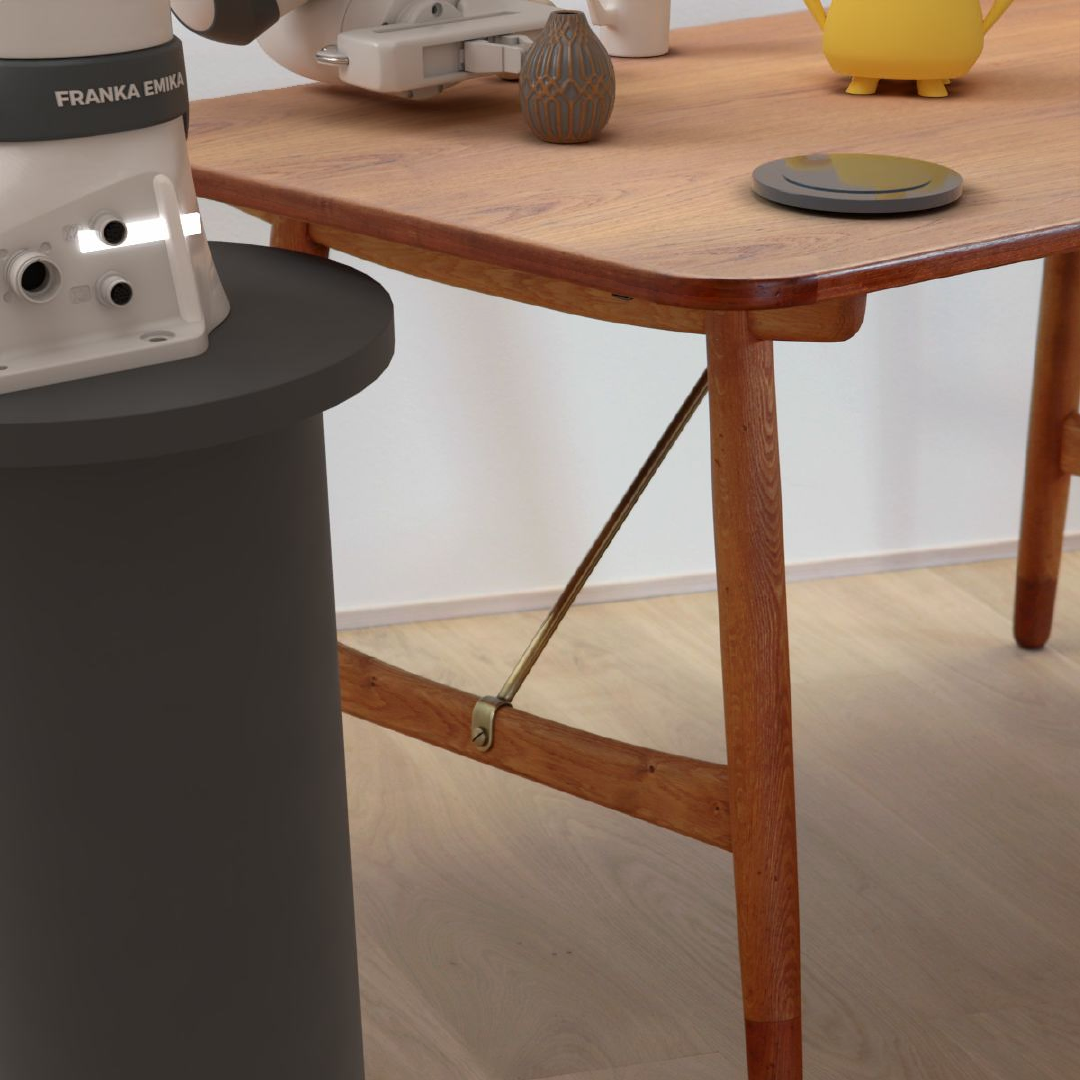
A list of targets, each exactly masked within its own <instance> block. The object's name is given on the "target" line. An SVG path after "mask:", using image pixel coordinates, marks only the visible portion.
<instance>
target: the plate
mask: <svg viewBox="0 0 1080 1080" xmlns="http://www.w3.org/2000/svg"><path fill="white" fill-rule="evenodd" d="M963 187H964V178H963V176H962V175H961V174H960V173H959V172H958V171H956V170H954V169H953V168H950V167H947V166H945V165H942V164H939V163H936V162H931V161H926V160H922V159H916V158H911V157H904V156H895V155H887V154H886V155H885V154H872V153H846V152H845V153H844V152H843V153H842V152H841V153H840V152H839V153H815V154H803V155H795V156H789V157H783V158H778V159H774V160H769V161H767V162H765V163H762V164H760V165H758V166H756V167H755V168H754V169H753V170H752V173H751V189H752V190H753V191H754V192H755V193H756V194H757V195H759V196H761V197H763V198H764V199H767V200H769V201H771V202H775V203H779V204H782V205H786V206H791V207H795V208H801V209H807V210H814V211H815V210H816V211H821V212H822V211H823V212H834V213H835V212H836V213H849V214H851V213H852V214H891V213H905V212H906V213H907V212H916V211H923V210H928V209H934V208H938V207H941V206H945V205H948V204H951V203H953V202H955V201H957V200H958V199H959V198H960V197H961V196H962V194H963Z"/></svg>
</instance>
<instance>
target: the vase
mask: <svg viewBox="0 0 1080 1080" xmlns="http://www.w3.org/2000/svg"><path fill="white" fill-rule="evenodd" d="M591 27H592V26H591V25H590V24H589V21H588V19H587V16H586V14H585V11H582V10H577V9H575V10H574V9H566V10H559V11H553V12H551V13H550V15H549V17H548V20H547V22H546V24H545V26H544V28H543V30H542V31H541V32H540V34H539V35H538V37H537V38H536V39H535V41H534V42H533V44H532V45H531V46H530V48H529V49H528V51H527V53H526V55H525V57H524V60H523V63H522V67H521V71H520V77H519V79H518V96H519V97H518V98H519V105H520V108H521V109H520V110H521V112H522V115H523V118H524V121H525V123H526V124H527V125H528V128H530V130H531V131H532V132H533V133H534V135H536V136H537V138H538V139H540V140H541V141H544V142H547V143H555V144H579V143H587V142H590V141H593V140H595V139H596V138H597V136H599V135H600V134H601V133H602V132H603V130H604V129H605V127H606V126H607V124H608V123H609V121H610V118H611V116H612V113H613V111H614V106H615V102H616V88H617V87H616V85H617V83H616V74H615V68H614V65H613V62H612V58H611V56H610V55H609V54H608V52H607V50H606V48H605V47H604V45H603V44H602V43H601V39H600V38H599V37H598V36H597V34H596V32H595V31H594V30H593V29H592V28H591Z"/></svg>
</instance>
